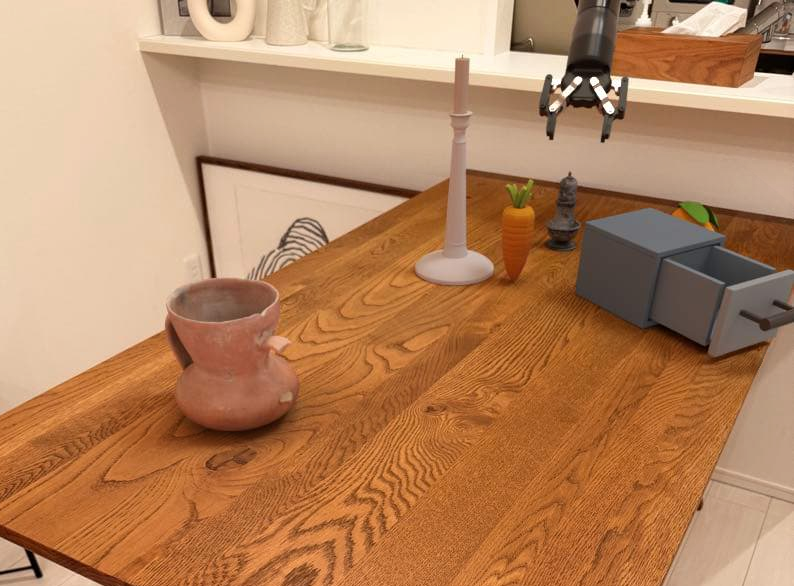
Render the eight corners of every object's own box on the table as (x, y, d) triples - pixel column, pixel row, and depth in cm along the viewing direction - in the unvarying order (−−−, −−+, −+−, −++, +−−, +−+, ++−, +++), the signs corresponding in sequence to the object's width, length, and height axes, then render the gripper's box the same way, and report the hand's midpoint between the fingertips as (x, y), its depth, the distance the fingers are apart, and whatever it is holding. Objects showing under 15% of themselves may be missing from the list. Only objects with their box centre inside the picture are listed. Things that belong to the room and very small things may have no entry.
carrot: (493, 285, 119) (500, 183, 110) (501, 273, 123) (509, 174, 113) (524, 289, 118) (534, 186, 108) (531, 277, 121) (542, 177, 112)
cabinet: (706, 309, 111) (726, 235, 104) (641, 329, 107) (657, 252, 100) (636, 276, 121) (650, 207, 114) (574, 293, 117) (584, 221, 110)
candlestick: (505, 263, 126) (522, 50, 107) (475, 290, 118) (488, 64, 98) (435, 251, 131) (439, 45, 112) (401, 277, 123) (400, 58, 103)
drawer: (806, 351, 99) (830, 284, 93) (744, 372, 95) (765, 304, 89) (699, 301, 111) (715, 240, 106) (640, 318, 107) (653, 256, 101)
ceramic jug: (334, 404, 92) (325, 290, 83) (253, 462, 83) (233, 340, 74) (225, 366, 100) (207, 258, 91) (140, 415, 91) (110, 300, 82)
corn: (709, 189, 130) (743, 229, 115) (701, 235, 135) (733, 278, 119) (664, 193, 130) (692, 232, 115) (658, 238, 135) (684, 281, 120)
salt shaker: (537, 241, 134) (545, 168, 126) (567, 237, 135) (577, 164, 127) (553, 253, 130) (562, 177, 122) (584, 248, 131) (595, 173, 123)
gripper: (549, 30, 127) (534, 122, 126) (638, 31, 124) (622, 126, 123) (549, 62, 134) (534, 150, 133) (633, 64, 131) (618, 154, 130)
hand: (576, 138), depth 128 cm, fingers open, 8 cm apart
